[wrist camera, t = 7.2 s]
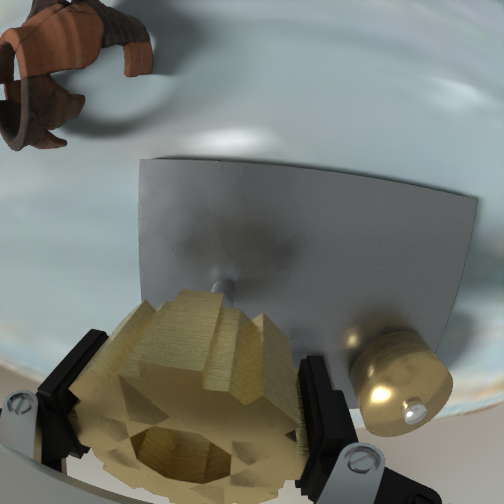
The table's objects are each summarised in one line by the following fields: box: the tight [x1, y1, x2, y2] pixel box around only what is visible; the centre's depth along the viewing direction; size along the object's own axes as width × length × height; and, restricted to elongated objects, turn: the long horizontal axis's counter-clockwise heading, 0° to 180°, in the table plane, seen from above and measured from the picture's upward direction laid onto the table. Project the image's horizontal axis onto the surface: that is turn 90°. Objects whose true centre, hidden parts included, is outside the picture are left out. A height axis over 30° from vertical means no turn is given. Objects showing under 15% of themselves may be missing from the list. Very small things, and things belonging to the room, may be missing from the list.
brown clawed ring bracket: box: [0, 0, 153, 151], centre depth 12 cm, size 12×10×8 cm
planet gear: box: [68, 289, 310, 504], centre depth 9 cm, size 7×7×4 cm
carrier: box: [138, 159, 477, 437], centre depth 15 cm, size 20×16×6 cm
